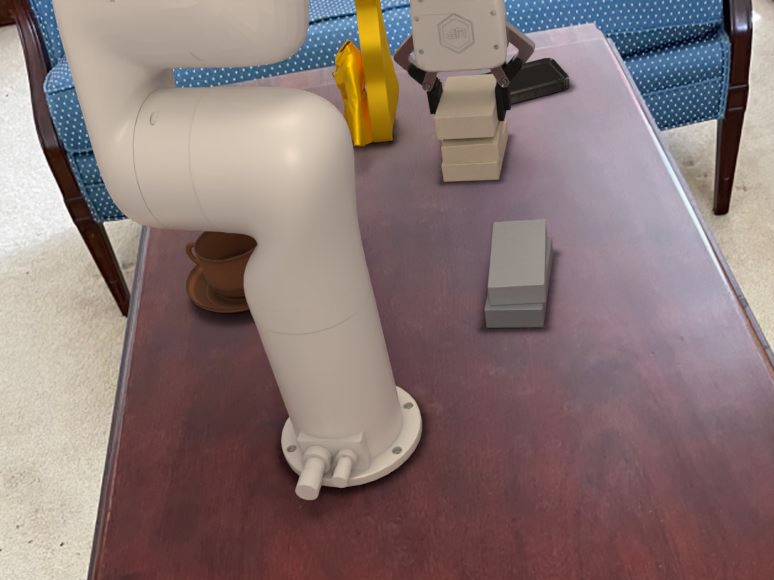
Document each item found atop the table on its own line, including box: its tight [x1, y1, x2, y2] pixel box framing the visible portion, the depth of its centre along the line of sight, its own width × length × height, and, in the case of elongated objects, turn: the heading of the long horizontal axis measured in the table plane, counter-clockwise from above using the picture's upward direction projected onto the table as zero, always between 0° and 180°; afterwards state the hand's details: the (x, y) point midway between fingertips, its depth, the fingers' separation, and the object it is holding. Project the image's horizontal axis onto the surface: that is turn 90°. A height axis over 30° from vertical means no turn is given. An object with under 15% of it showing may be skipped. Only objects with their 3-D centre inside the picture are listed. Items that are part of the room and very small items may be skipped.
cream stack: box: [440, 119, 509, 183], centre depth 112 cm, size 10×7×4 cm
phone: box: [479, 57, 570, 105], centre depth 124 cm, size 8×1×15 cm
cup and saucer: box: [184, 231, 258, 314], centre depth 99 cm, size 12×12×6 cm
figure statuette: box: [331, 0, 400, 148], centre depth 113 cm, size 18×8×22 cm, turn 5°
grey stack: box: [483, 218, 554, 329], centre depth 94 cm, size 12×6×4 cm, turn 172°
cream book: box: [433, 74, 498, 141], centre depth 109 cm, size 10×7×3 cm, turn 172°
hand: (471, 116), depth 110 cm, fingers closed on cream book, 6 cm apart
